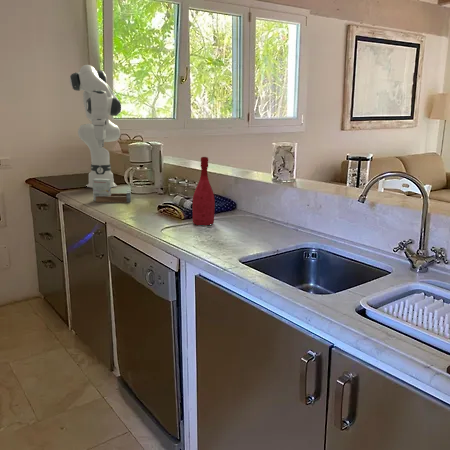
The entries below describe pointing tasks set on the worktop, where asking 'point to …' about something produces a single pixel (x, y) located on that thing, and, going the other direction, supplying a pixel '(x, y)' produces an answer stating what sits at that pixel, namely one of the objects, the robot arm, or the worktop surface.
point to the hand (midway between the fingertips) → (101, 147)
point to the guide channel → (115, 197)
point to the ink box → (101, 188)
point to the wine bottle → (203, 198)
